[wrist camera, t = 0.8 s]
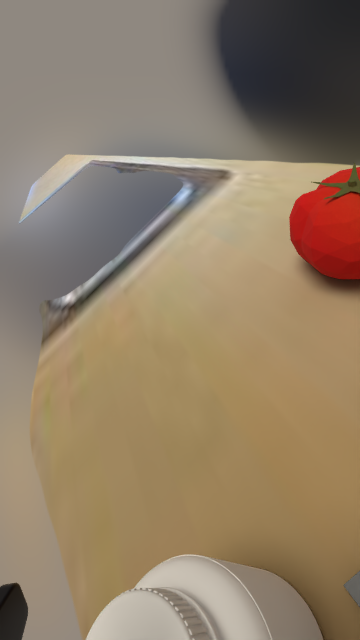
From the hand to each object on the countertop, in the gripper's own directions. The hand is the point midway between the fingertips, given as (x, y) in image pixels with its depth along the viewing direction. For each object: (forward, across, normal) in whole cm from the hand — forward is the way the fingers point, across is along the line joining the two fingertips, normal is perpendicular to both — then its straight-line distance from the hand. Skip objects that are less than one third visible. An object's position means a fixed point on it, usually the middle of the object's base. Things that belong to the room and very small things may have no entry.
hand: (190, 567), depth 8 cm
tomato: (+29, -20, -2) cm, 36 cm away
